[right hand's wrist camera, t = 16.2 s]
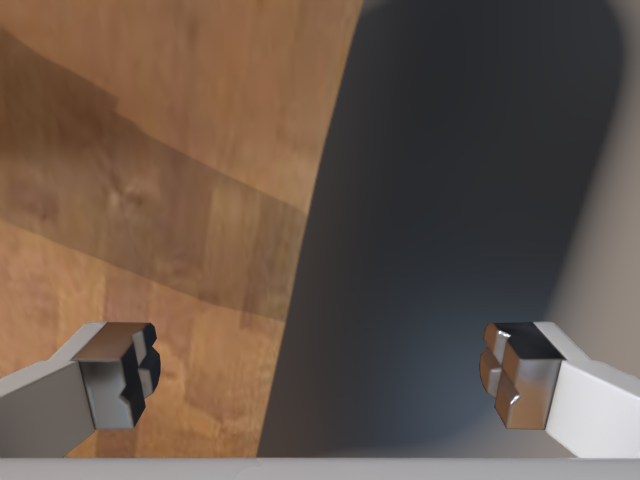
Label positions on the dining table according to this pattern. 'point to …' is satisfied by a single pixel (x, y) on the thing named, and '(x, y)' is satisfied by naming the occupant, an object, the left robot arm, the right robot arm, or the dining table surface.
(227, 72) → the dining table surface
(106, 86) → the dining table surface
